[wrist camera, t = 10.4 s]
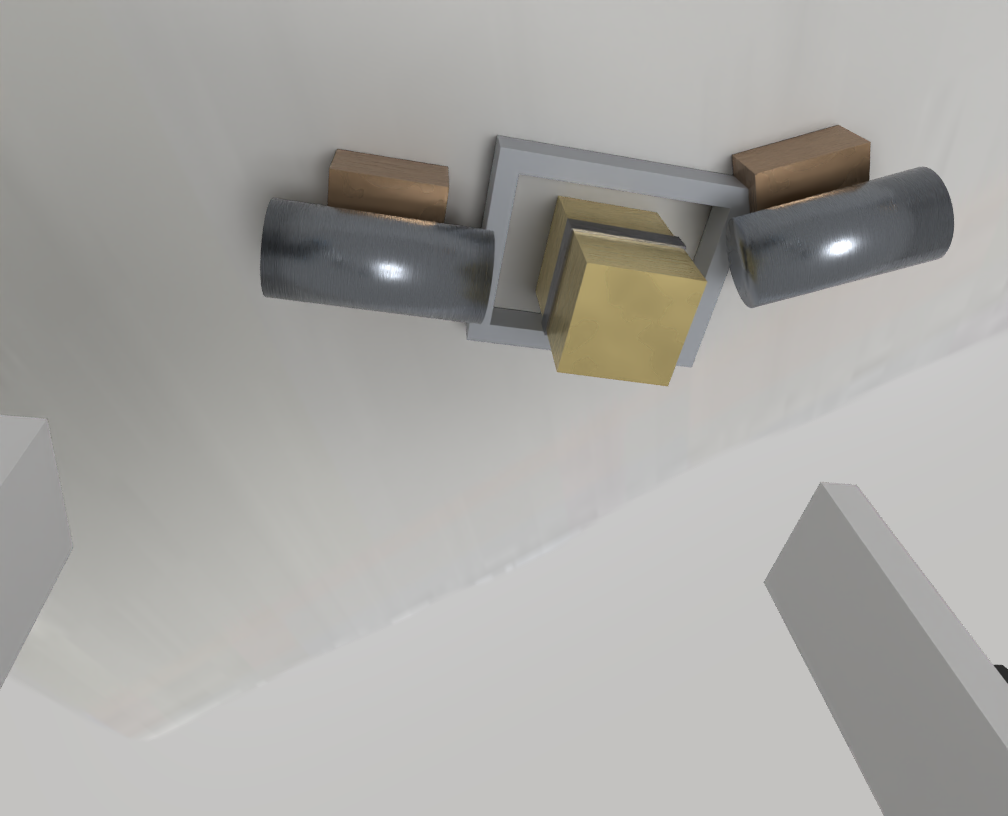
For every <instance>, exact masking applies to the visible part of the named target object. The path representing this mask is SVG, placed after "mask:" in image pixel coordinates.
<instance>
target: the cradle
mask: <svg viewBox="0 0 1008 816" xmlns="http://www.w3.org/2000/svg"><path fill="white" fill-rule="evenodd" d="M519 174H522V175H528V176H534V177H540V178H546V179H552V180H558V181H564V182H571V183H577V184H583V185H589V186H595V187H601V188H607V189H614V190H620V191H626V192H632V193H638V194H644V195H650V196H656V197H663V198H669V199H675V200H681V201H687V202H693V203H699V204H705V205H712V206H713V207H712V210H711V213H710V216H709V218H708V221H707V224H706V227H705V230H704V233H703V236H702V238H701V241H700V244H699V247H698V250H697V253H696V256H695V259H694V261H693V263H694V264H695V265H696V267H697V268H698V269H699V271H700V272H701V273H702V275H703V276H704V278H705V279H706V280H707V284H706V287H705V290H704V292H703V295H702V297H701V300H700V303H699V305H698V308H697V311H696V313H695V316H694V319H693V321H692V324H691V326H690V329H689V332H688V334H687V337H686V340H685V342H684V345H683V348H682V350H681V353H680V355H679V358H678V361H677V363H676V366H685V367H692V365H693V362H694V360H695V357H696V354H697V352H698V349H699V347H700V344H701V341H702V339H703V336H704V333H705V331H706V328H707V326H708V323H709V320H710V318H711V315H712V312H713V310H714V307H715V304H716V302H717V299H718V297H719V294H720V291H721V289H722V286H723V283H724V281H725V278H726V276H727V273H728V270H729V268H730V266H729V261H728V255H727V247H726V230H727V225H728V222H729V220H730V219H731V218H735V217H738V216H742V215H746V214H749V213H750V206H749V190H748V188H747V187H746V186H745V185H743V184H742V183H741V182H740V181H739V180H738V179H737V178H736V177H734V176H732V175H727V174H721V173H715V172H709V171H703V170H697V169H692V168H686V167H680V166H674V165H668V164H662V163H657V162H651V161H645V160H639V159H633V158H627V157H622V156H616V155H610V154H604V153H598V152H592V151H586V150H581V149H575V148H569V147H563V146H557V145H551V144H546V143H540V142H534V141H528V140H522V139H516V138H511V137H505V136H499V135H497V140H496V146H495V152H494V158H493V164H492V170H491V175H490V181H489V187H488V193H487V199H486V205H485V210H484V216H483V222H482V228H481V229H485V230H492V231H494V235H495V255H494V267H493V276H492V284H491V290H490V296H489V301H488V306H487V310H486V314H485V318H484V320H483V322H482V324H475V323H467V322H466V335H467V340H473V341H481V342H489V343H497V344H505V345H513V346H521V347H530V348H538V349H546V350H551V347H550V343H549V340H548V336H547V335H544V332H543V328H542V324H541V322H542V318H543V317H542V314H541V313H533V312H526V311H518V310H510V309H503V308H495V307H493V306H494V301H495V296H496V291H497V285H498V280H499V275H500V270H501V265H502V260H503V254H504V249H505V244H506V239H507V234H508V229H509V223H510V218H511V213H512V208H513V203H514V197H515V192H516V187H517V182H518V177H519Z"/></svg>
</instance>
